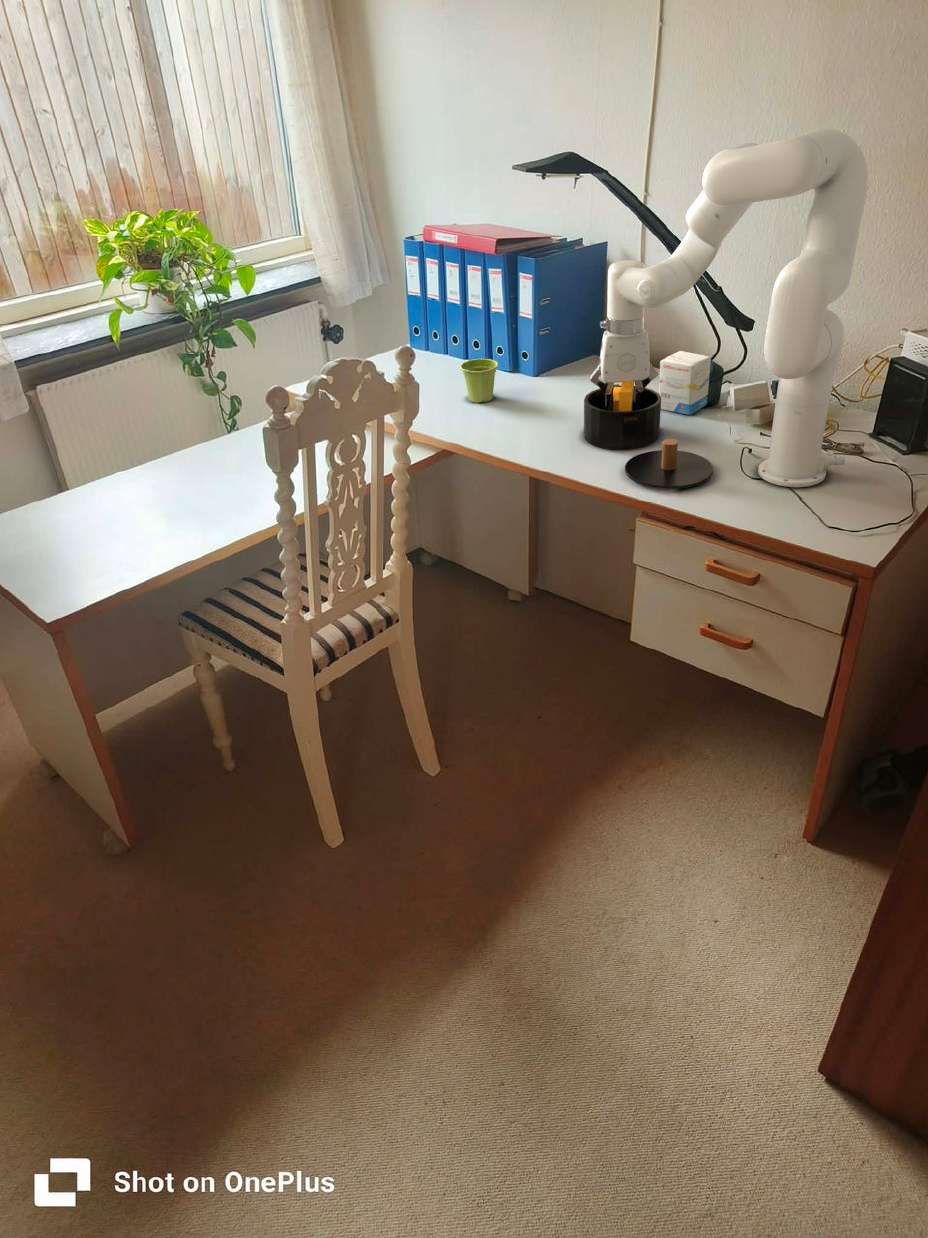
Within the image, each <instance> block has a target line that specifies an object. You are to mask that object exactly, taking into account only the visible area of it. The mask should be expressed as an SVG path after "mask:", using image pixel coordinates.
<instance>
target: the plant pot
mask: <svg viewBox="0 0 928 1238" xmlns="http://www.w3.org/2000/svg"><path fill="white" fill-rule="evenodd" d="M498 367H499V362H498V361H496V360H494V359H491V358H474V359H470V360H466V361H463V362H462V363H460V365H459V369H460V370H461V372H462V374H463V376H464V377H463V378H464V381H465V387H466V392H467V398H468V400H469V401H470V402H473V403H481V402H485V403H487V402H489V401H492V400H493V398H494V389H495V377H496V373H497V368H498Z"/></svg>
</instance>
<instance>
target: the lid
mask: <svg viewBox="0 0 928 1238" xmlns="http://www.w3.org/2000/svg"><path fill="white" fill-rule="evenodd" d="M678 445H679V441H678V440H676V439H674V438H667V439H664V440H662V446H661V449H658V450H657V449H656V450H650V451H646V452H642V453H640V454H636V455H635V456H632V457H631V458H629V460H627V462H626V463H625V465H624V473H625V474H626V476H627V477H628V478H629V479H630V480H631V481H634V482H635V483H637V484H639V485H642V486H645V487H649V488H654V489H663V490H677V489H686V488H691V487H696V486H698V485H701V484H704V483H705V482H706V481H708V480H709V479H711V477H712V476H713V474H714V467H713V464H712V463H711V461H709V460H708V459H707V458H706V457H703V455H702V456H701V455H699V454H696V453H693V452H689V451H686V450H685V451H684V450H679V449H678V448H679V446H678Z"/></svg>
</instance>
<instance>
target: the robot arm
mask: <svg viewBox="0 0 928 1238" xmlns="http://www.w3.org/2000/svg"><path fill="white" fill-rule="evenodd" d="M868 171H869V169H868V163H867V160H866V157H865V155H864V152H863V150H862V149H861V147H860V145H858V143H857V142H856V141H855V140H854V139H853V138H852V137H851V136H850V135H847V133H845V132H843V131H840V130H838V129H832V128H818V129H813V130H810V131H807V132H804V133H802V134H798V135H795V136H792V137H789V138H785V139H781V140H775V141H770V142H766V143H761V144H758V143H755V142H745V143H741V144H738V145H735V146H732V147H729V148H725V149H722V150H720V151H719V152H717V153H716V154H715V155H714V156H712V158H711V159H709V161H708V163H706V166H705V168H704V170H703V174H702V180H701V183H702V190H701V192H700V193H699V194H698V196H697V197H696V199H695V200H694V201H693V202H692V204H691V205H690V206H689V208H688V209H687V211H686V213H685V222H686V225H687V227H688V230H687V233H686V235H685V236H684V238H683V240H681V242H680V244H678V246H677V247H676V249H675V250H674V251H673V253H672V254H671V255H670V256H669V257H668V258H667V259H665V260H663V261H660V262H658V263H656V264H653V265H651V266H648V267H646V266H645V263H644V262H642V261H640V260H637V259H635V260H634V259H626V260H618V261H614V262H613V263H611V264H610V265H609V266H608V270H607V299H606V300H607V301H606V303H607V304H606V305H607V307H606V308H607V309H606V318H605V320H604V319H603V320H601V321H599V328H600V329H605V331H604V332H603V335H602V339H601V345H600V354H599V355H600V356H599V364H598V365H597V367H596V368H595V369H594V371H593V372H592V373H591V375H590V376H589V381H590V382H591V383H592V384H594V385H595V386H597V387H598V389H602V390H603V391H604V392H605V407H606V408H608V410H609V411H613V398H614V396H613V393H612V388H613V385H615V384H617V383H622V382H629V381H634V386H635V388H634V389H633V403H632V405H633V408H634V409H635V410H638V405H641V392H642V391H643V389H644V388H647V386H648V385H649V384H650V383H651V382H652V381H653V380H655V379H656V378H657V377H658V376H659V373H658V371H657V369H656V368H655V367H654V365H652V363H651V361H650V359H651V358H650V354H651V353H650V340H649V339H650V338H649V332H648V330H647V329H645V328H644V324H645V308H648V309H650V308H651V309H655V308H659V307H661V306H664V305H666V304H668V303H670V302H671V301H673V300H675V299H677V298H679V297H681V296H683V295H685V294H686V293H688V292H689V290H691V289H692V288H693V287H694V285H695V284H696V283H697V282H698V281H699V280H700V278H701V277H702V275H703V274H704V273H705V272H706V271H707V270H708V268H709V267H710V266H711V264H712V263H713V261H714V260H715V258H716V256H717V255H718V253H719V250H720V248H721V247H722V244H723V241H724V240H725V239H726V237H727V236H728V235H729V233H730V232H731V231H732V230H733V228H734V227H735V225H736V224H737V223H738V222H739V221H740V219H741V218H742V217H743V216H744V215H745V213H746V212H747V211H748V210H749V208H750V207H751V206H752V204H753V203H757V202H764V201H771V200H778V199H779V200H780V199H785V198H786V199H787V198H791V197H795V196H799V195H802V194H805V193H806V192H809V191H811V190H814V195H813V196H814V197H813V199H812V204H811V207H810V210H809V212H808V216H807V220H806V223H805V232H804V238H803V243H802V247H801V250H800V255H799V256H797V257H796V258H793V259H792V260H791V261H789V262H788V263H787V264H786V265H785V266H784V267H783V268H782V269H781V270H780V272H779V274H778V275H777V277H776V279H775V282H774V286H773V288H772V292H771V298H770V304H769V311H768V317H767V323H766V332H765V335H764V336H765V338H764V343H763V345H764V346H763V355H764V361H765V364H766V367H768V369H769V370H770V372H771V373H772V374H773V375H775V376H776V377H778V384H777V390H776V397H775V404H774V410H773V419H772V427H771V433H770V439H769V448H768V456H767V458H766V459H765V460H763V461H761V462H760V463H759V465H758V469H757V473H758V476H760V478H761V479H762V480H764V481H766V482H768V483H769V484H773V485H776V486H780V487H786V488H806V487H813V486H815V485H818V484H820V483H822V482H823V481H824V480H825V479H826V474H827V470H826V468H828V467H829V466H842V465H845V464H846V463H845V462H846V457H845V454H835V455H834V451H824V452H823V451H822V449H823V443H824V436H825V431H826V426H827V425H826V424H827V419H828V414H829V413H828V412H829V407H830V401H831V396H832V390H833V386H834V381H835V376H836V372H837V368H838V365H839V361H840V358H841V354H842V352H843V348H844V341H845V329H844V324H843V322H842V320H841V318H840V317H839V316H838V314H837V313H835V312H834V311H832V310H830V309H828V306H829V305H830V304H832V303H833V302H835V301H836V300H838V299H839V298H840V297H841V296H842V295H843V294H844V293H845V292H846V290H847V289H848V287H849V285H850V282H851V278H852V272H853V266H854V260H855V255H856V251H857V246H858V240H859V234H860V228H861V224H862V223H861V222H862V218H863V213H864V207H865V203H866V197H867V192H868V184H869V172H868ZM600 376H601V379H600V378H599V377H600Z"/></svg>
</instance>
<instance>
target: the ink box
mask: <svg viewBox="0 0 928 1238" xmlns="http://www.w3.org/2000/svg"><path fill="white" fill-rule="evenodd" d="M711 361H712V356H709V355H704V354H700V353H699V354H698V353H693V352H689V351H688V352H687V351H684V350H678V351H677V352H675V353H672V354H670V355H668V356H666V357H665V358H663V359H661V360H660V362H659V385H658V386H659V387H658V393H659V395H660V396H661V410H663V411H668V412H673V413H677V414H682V415H687V416H692V414H694V413H696V412H698V411H699V410H701V409H702V408H704V407H706V406H707V405H708V397H707V395H708V396H709V386H710V375H711V374H710V373H711Z"/></svg>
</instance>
